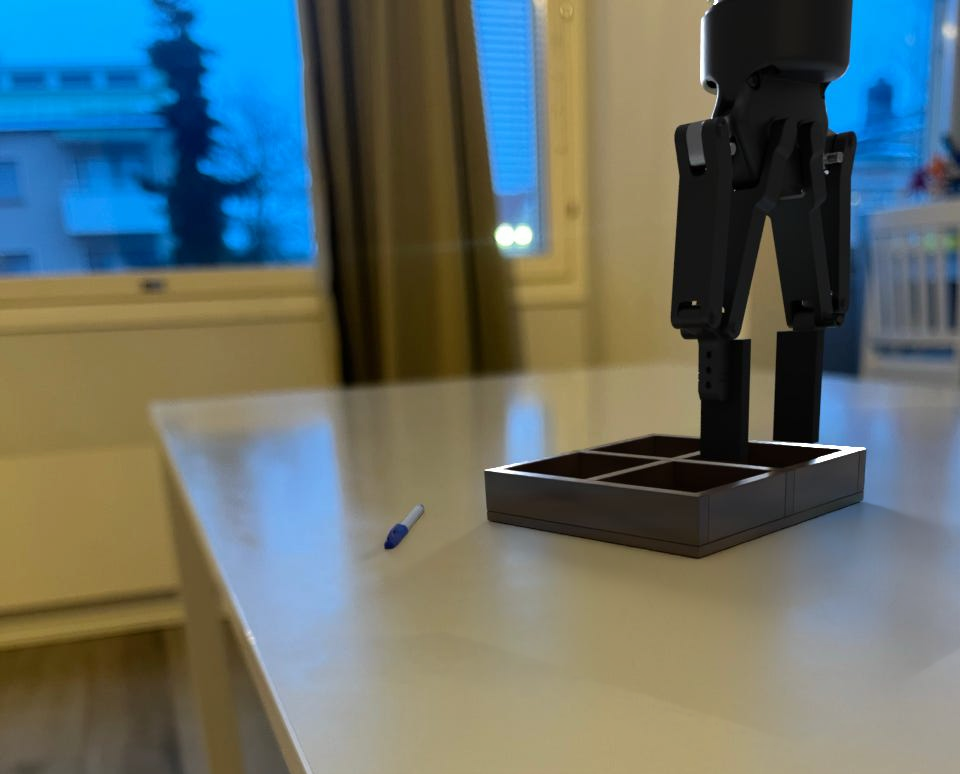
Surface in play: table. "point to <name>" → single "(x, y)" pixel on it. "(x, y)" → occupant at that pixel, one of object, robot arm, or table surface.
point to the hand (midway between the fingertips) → (760, 449)
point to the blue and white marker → (402, 528)
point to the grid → (675, 491)
